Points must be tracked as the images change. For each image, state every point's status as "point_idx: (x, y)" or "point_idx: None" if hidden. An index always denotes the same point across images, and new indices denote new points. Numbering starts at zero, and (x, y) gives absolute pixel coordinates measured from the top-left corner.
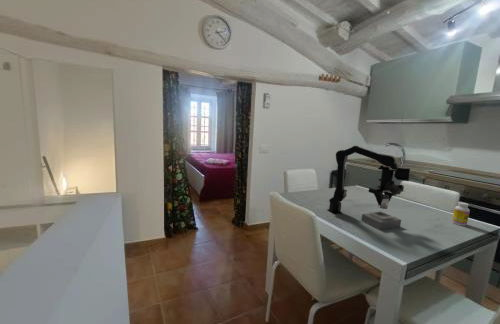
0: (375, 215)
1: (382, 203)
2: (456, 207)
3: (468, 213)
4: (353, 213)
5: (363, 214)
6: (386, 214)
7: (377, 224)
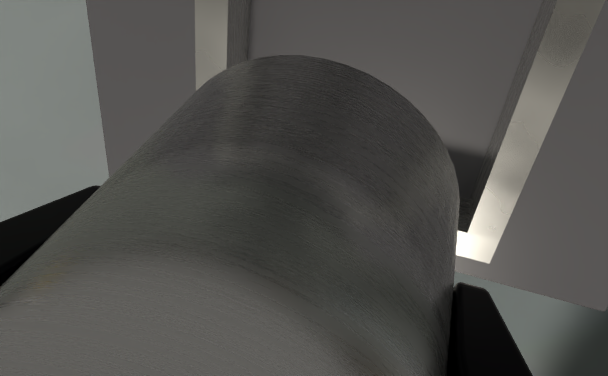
0: (539, 137)
1: (442, 307)
2: None
3: None
4: None
5: (600, 295)
6: (229, 37)
7: None
